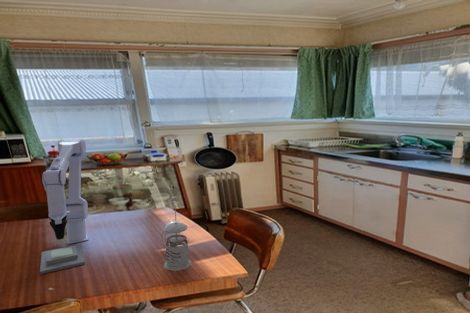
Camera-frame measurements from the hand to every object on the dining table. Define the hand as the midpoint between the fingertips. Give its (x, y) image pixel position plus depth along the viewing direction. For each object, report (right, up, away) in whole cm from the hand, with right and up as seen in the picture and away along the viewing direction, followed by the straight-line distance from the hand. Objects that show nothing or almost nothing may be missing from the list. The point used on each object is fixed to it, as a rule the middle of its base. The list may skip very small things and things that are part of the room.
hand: (60, 236), depth 119 cm
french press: (+44, -9, -4) cm, 45 cm away
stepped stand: (0, -9, +1) cm, 9 cm away
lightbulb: (+41, -7, +10) cm, 43 cm away
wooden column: (0, -2, 0) cm, 2 cm away
